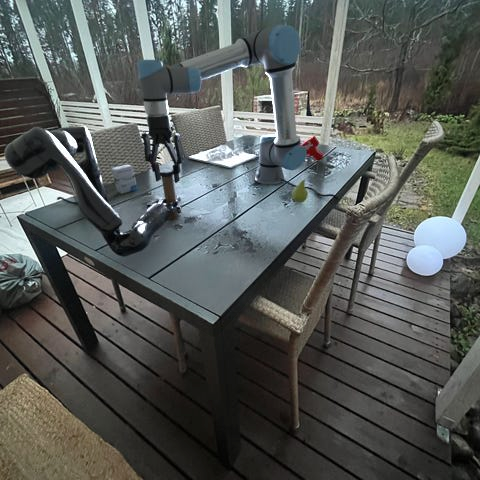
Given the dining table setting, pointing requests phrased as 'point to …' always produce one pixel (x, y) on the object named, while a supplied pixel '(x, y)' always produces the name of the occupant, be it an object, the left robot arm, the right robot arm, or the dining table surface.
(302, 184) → the fruit
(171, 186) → the jar
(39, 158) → the left robot arm
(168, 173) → the lid
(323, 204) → the dining table surface
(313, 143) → the toy gun
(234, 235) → the dining table surface
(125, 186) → the ink box
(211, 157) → the relief map
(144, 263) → the dining table surface
